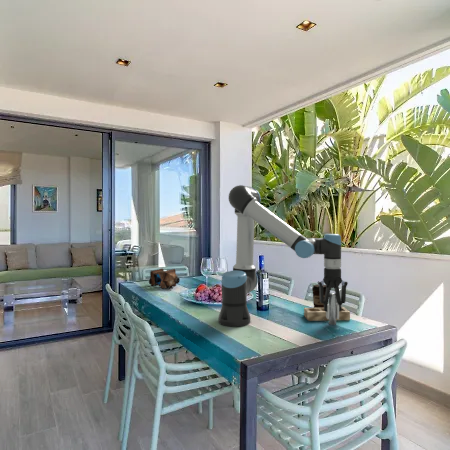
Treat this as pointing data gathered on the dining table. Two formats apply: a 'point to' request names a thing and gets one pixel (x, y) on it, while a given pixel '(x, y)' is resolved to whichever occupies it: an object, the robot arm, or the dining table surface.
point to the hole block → (324, 314)
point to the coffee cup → (316, 296)
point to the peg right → (340, 297)
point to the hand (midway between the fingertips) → (332, 318)
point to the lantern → (163, 278)
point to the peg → (332, 309)
